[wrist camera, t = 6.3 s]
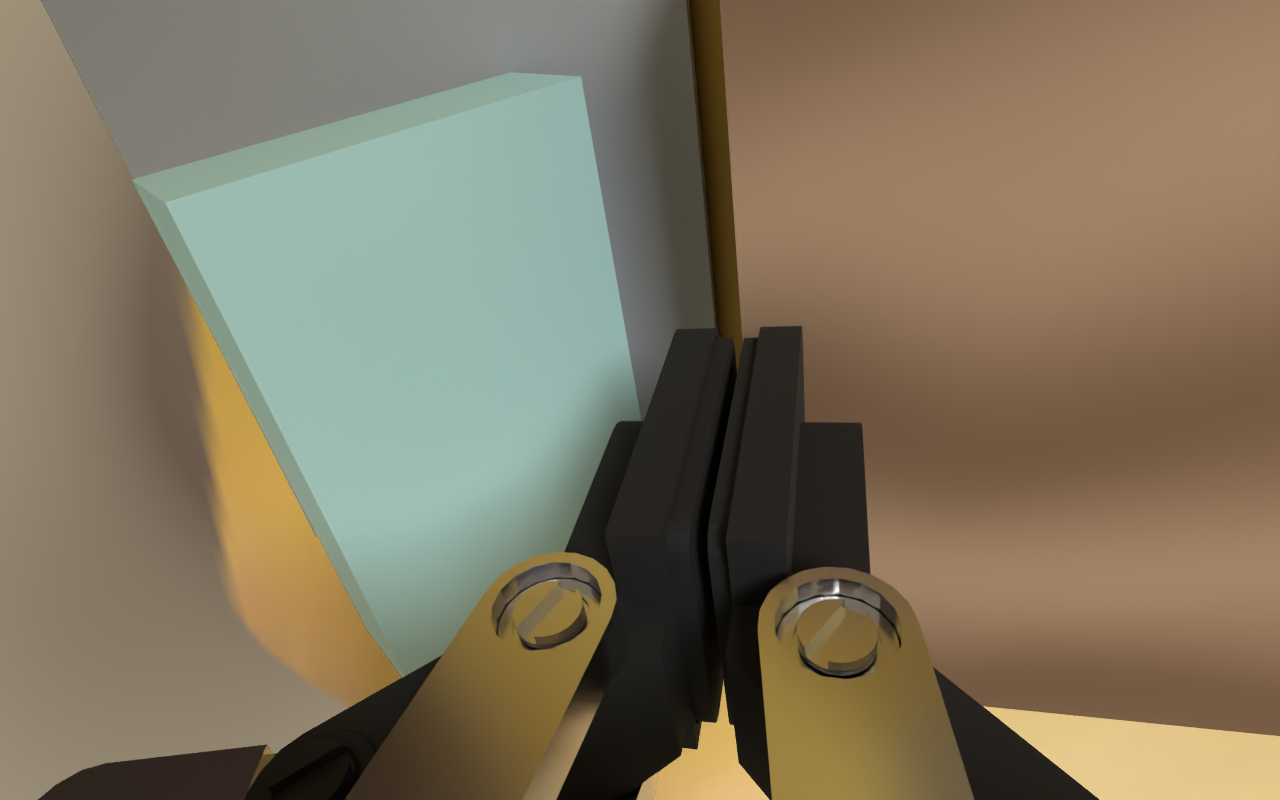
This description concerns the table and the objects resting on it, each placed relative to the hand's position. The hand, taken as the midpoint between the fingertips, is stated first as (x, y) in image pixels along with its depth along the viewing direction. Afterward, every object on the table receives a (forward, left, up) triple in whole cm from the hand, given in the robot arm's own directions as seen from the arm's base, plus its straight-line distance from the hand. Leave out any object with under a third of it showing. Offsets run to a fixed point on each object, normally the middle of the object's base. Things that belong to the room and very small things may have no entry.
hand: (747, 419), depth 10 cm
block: (0, -4, -1) cm, 4 cm away
